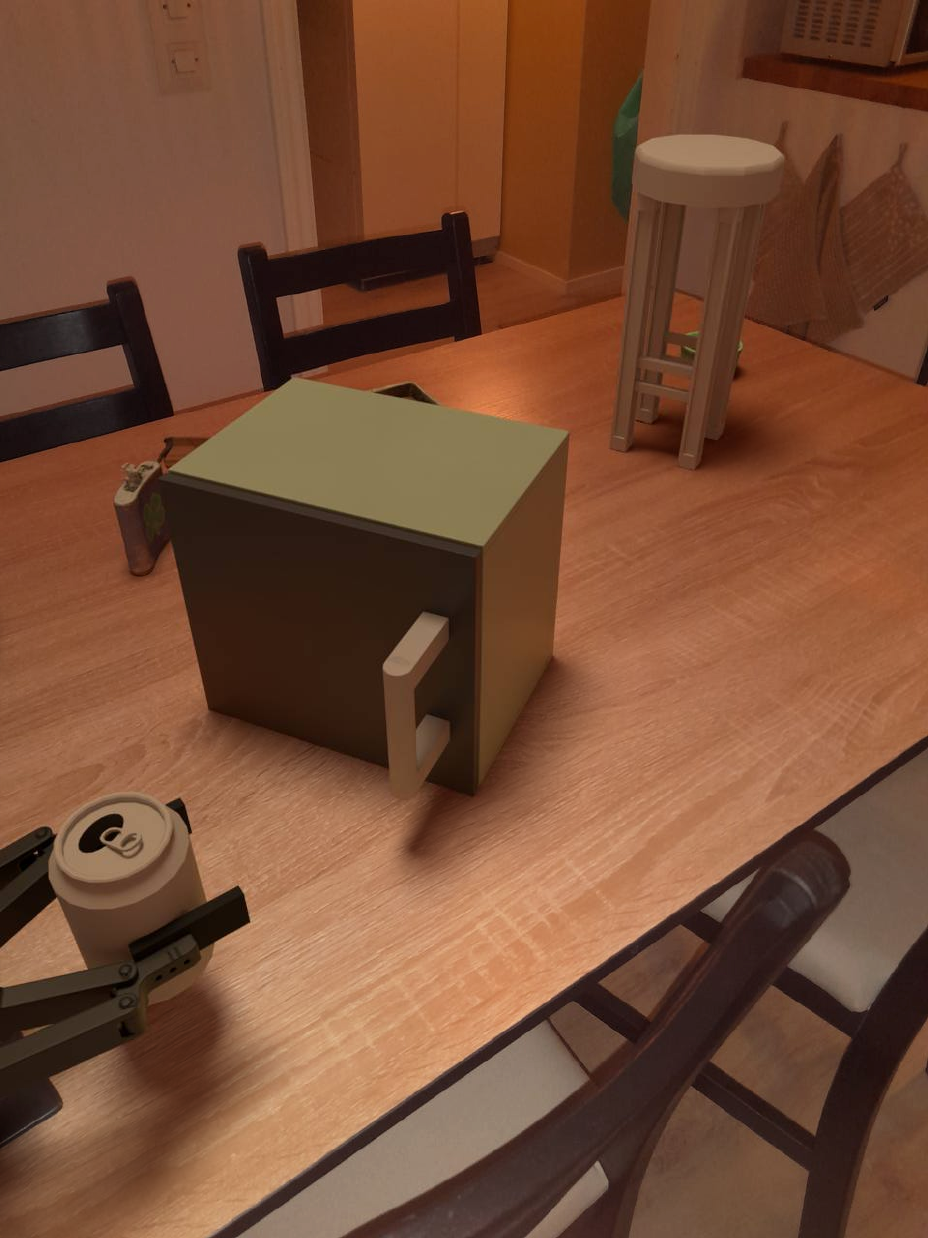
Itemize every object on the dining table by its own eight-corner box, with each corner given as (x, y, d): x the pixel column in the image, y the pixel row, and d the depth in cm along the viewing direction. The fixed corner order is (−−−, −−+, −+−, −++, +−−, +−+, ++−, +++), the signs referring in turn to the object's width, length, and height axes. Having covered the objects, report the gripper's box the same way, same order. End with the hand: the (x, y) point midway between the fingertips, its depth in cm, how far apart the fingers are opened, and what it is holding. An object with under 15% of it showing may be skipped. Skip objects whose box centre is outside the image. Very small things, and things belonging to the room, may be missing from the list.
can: (148, 888, 64) (107, 763, 56) (242, 933, 61) (212, 807, 54) (65, 982, 58) (7, 857, 51) (163, 1035, 56) (118, 911, 48)
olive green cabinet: (479, 787, 79) (483, 545, 64) (216, 701, 87) (167, 469, 72) (552, 656, 92) (570, 430, 77) (318, 591, 100) (293, 376, 85)
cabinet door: (436, 861, 73) (431, 617, 58) (158, 761, 81) (93, 525, 66) (478, 788, 79) (482, 549, 64) (214, 701, 86) (165, 472, 72)
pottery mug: (142, 507, 114) (139, 436, 112) (201, 506, 122) (199, 440, 121) (216, 509, 107) (214, 433, 106) (274, 508, 116) (273, 438, 114)
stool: (704, 481, 118) (760, 173, 96) (588, 450, 124) (615, 154, 102) (742, 430, 128) (800, 142, 107) (633, 404, 134) (667, 127, 113)
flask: (149, 577, 102) (127, 489, 95) (122, 576, 102) (98, 487, 95) (179, 530, 109) (161, 445, 102) (154, 528, 109) (134, 443, 103)
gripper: (-215, 973, 56) (159, 795, 67) (-146, 1304, 43) (302, 1018, 54) (-276, 895, 52) (136, 717, 62) (-219, 1240, 39) (288, 941, 50)
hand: (213, 857), depth 58 cm, fingers closed on can, 7 cm apart
